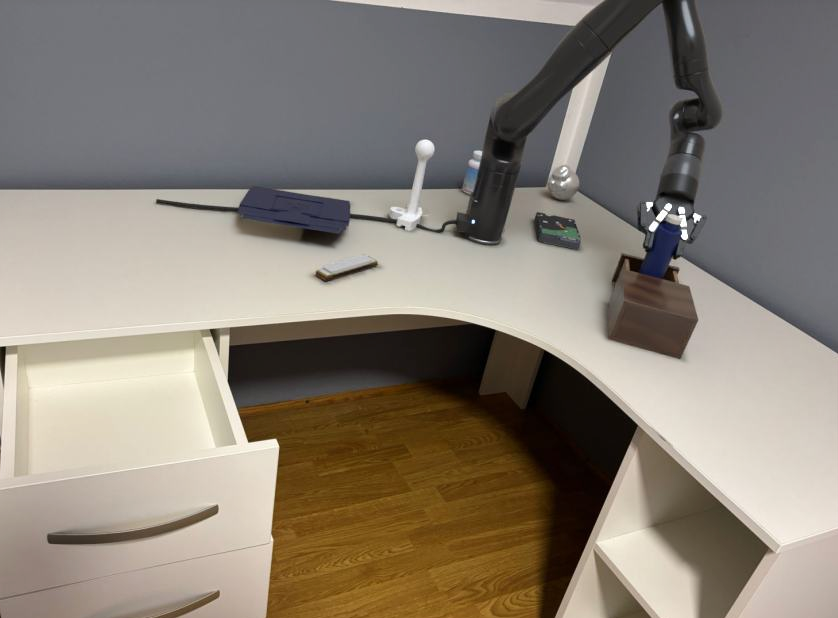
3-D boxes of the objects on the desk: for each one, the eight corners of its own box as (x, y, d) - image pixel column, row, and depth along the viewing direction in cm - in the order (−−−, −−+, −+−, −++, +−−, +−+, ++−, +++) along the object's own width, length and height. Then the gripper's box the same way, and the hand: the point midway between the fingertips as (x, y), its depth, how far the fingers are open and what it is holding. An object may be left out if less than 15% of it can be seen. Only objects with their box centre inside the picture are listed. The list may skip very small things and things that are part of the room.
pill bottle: (482, 198, 193) (492, 158, 187) (460, 193, 194) (470, 153, 188) (483, 191, 198) (493, 152, 192) (462, 187, 199) (472, 148, 193)
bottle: (640, 282, 145) (666, 219, 138) (634, 271, 149) (659, 210, 142) (664, 286, 145) (691, 224, 138) (657, 276, 149) (683, 214, 142)
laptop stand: (230, 230, 145) (231, 212, 143) (251, 196, 172) (252, 181, 171) (346, 247, 147) (349, 231, 146) (349, 212, 174) (351, 197, 173)
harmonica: (325, 282, 135) (327, 273, 134) (315, 276, 137) (316, 266, 136) (377, 266, 145) (379, 258, 144) (367, 260, 146) (368, 252, 145)
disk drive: (532, 221, 184) (537, 242, 172) (535, 211, 183) (541, 231, 170) (571, 229, 184) (579, 250, 172) (574, 219, 183) (582, 239, 170)
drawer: (611, 273, 160) (621, 246, 157) (665, 287, 158) (677, 260, 155) (612, 307, 145) (623, 278, 141) (673, 323, 143) (686, 294, 139)
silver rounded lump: (538, 191, 207) (547, 158, 202) (567, 195, 208) (578, 162, 203) (547, 202, 199) (557, 168, 194) (578, 206, 201) (589, 172, 196)
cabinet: (608, 305, 148) (622, 268, 143) (673, 322, 146) (689, 286, 141) (608, 339, 135) (624, 300, 130) (680, 358, 133) (698, 320, 128)
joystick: (414, 232, 164) (431, 148, 154) (383, 224, 165) (398, 140, 155) (423, 216, 173) (440, 136, 163) (394, 209, 174) (409, 129, 164)
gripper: (650, 163, 143) (631, 237, 139) (721, 181, 141) (704, 256, 137) (639, 181, 151) (621, 252, 147) (707, 198, 149) (690, 270, 145)
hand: (661, 254), depth 142 cm, fingers closed on bottle, 5 cm apart
